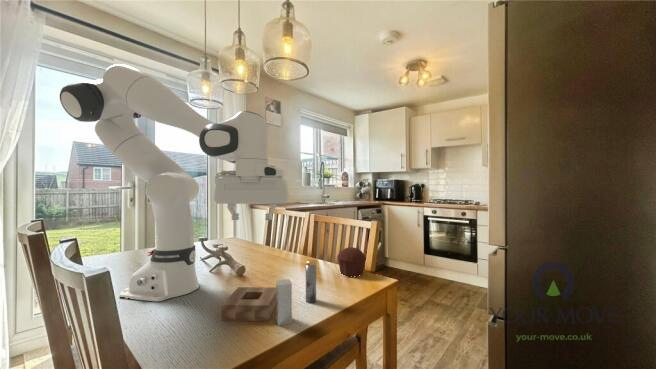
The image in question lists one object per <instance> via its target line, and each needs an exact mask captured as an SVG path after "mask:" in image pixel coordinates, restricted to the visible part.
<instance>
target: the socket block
mask: <svg viewBox="0 0 656 369" xmlns="http://www.w3.org/2000/svg"><path fill="white" fill-rule="evenodd" d="M275 309H276V286H275V287H263V286H261V287H258V286H257V287H255V286H254V287H253V286H252V287H248V286H247V287H246V286H245V287H244V286H243V287H241V286H240V287H237V288H236V289H235V290H234V291H233V292H232V293H231V295H229V297H228V298H227V299H226V300H225V301H224V302H223V303H222V304H221V322H222V321H223V322H229V321H230V322H233V321H234V322H269V320H270V319H271V316H272V314H273V312H274V310H275Z"/></svg>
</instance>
